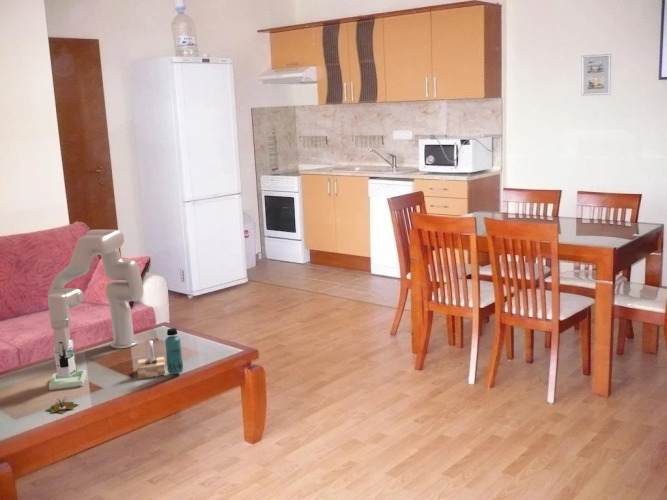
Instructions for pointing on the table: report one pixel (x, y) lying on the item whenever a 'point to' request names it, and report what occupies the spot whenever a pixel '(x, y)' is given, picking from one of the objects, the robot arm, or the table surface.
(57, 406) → the lily flower
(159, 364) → the bore block
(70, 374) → the syrup box
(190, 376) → the table surface
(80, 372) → the tray
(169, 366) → the beverage bottle
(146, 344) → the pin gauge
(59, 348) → the robot arm
